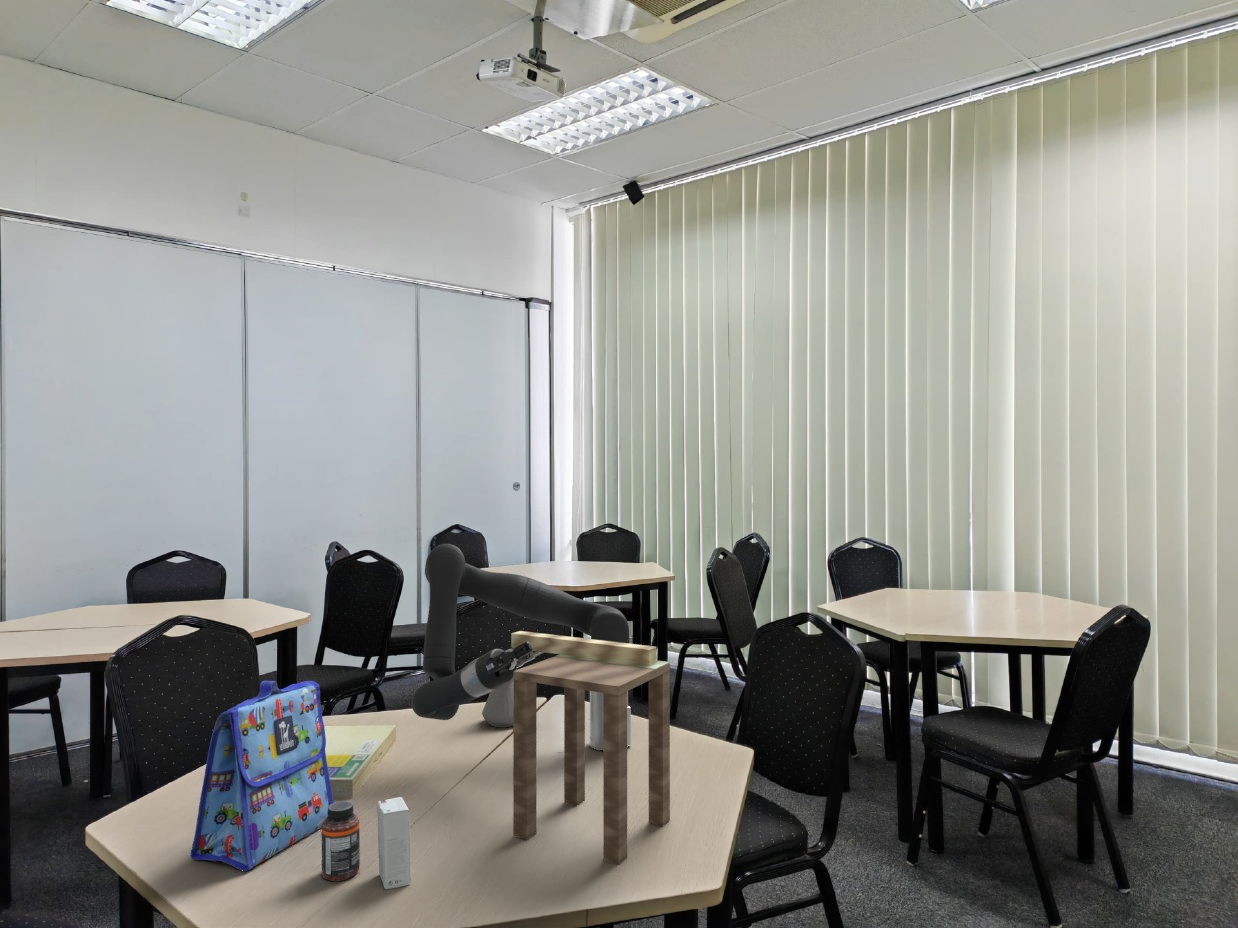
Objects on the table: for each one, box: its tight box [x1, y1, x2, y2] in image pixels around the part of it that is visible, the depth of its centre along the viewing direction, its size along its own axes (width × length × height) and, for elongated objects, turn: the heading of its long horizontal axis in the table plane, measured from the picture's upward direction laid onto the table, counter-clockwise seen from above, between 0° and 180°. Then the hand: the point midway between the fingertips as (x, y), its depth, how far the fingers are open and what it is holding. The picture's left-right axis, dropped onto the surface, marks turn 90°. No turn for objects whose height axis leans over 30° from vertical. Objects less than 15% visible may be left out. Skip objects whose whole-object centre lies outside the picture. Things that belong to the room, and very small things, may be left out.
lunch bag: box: [190, 680, 334, 872], centre depth 145 cm, size 22×14×29 cm, turn 160°
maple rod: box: [510, 630, 657, 666], centre depth 160 cm, size 32×3×3 cm, turn 61°
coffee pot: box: [481, 676, 514, 728], centre depth 214 cm, size 21×12×15 cm, turn 99°
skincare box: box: [376, 796, 412, 890], centre depth 131 cm, size 6×4×12 cm
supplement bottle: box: [321, 800, 361, 882], centre depth 133 cm, size 6×6×11 cm
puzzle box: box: [324, 724, 397, 799], centre depth 181 cm, size 36×5×24 cm
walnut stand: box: [512, 654, 671, 865], centre depth 150 cm, size 22×20×30 cm
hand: (542, 642), depth 164 cm, fingers open, 8 cm apart
